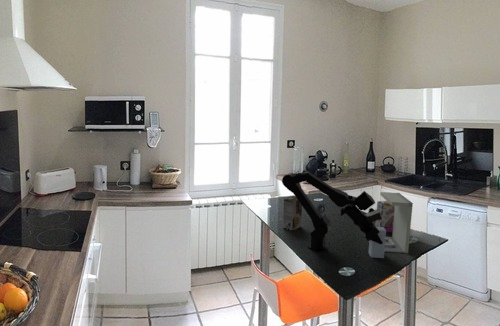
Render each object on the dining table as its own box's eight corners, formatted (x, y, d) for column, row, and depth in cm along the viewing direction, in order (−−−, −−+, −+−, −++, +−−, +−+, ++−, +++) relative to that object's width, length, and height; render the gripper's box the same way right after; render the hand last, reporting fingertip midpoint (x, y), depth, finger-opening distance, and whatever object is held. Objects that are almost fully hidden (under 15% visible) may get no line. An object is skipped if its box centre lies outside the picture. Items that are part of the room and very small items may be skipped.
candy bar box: (380, 233, 193) (382, 203, 191) (374, 230, 198) (376, 201, 196) (397, 232, 197) (400, 202, 194) (391, 229, 201) (394, 199, 199)
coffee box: (291, 224, 205) (292, 196, 203) (301, 226, 201) (302, 198, 199) (282, 228, 198) (283, 199, 196) (292, 231, 194) (293, 201, 192)
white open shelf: (374, 251, 169) (378, 201, 166) (365, 236, 189) (368, 191, 185) (408, 253, 168) (412, 203, 164) (395, 237, 188) (399, 192, 184)
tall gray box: (370, 257, 162) (373, 230, 160) (368, 252, 167) (370, 226, 165) (383, 258, 162) (386, 230, 160) (380, 253, 167) (383, 227, 165)
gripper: (376, 210, 152) (401, 237, 153) (366, 199, 171) (388, 223, 171) (355, 227, 154) (380, 254, 155) (347, 214, 172) (370, 238, 173)
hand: (380, 241), depth 163 cm, fingers closed on tall gray box, 5 cm apart
